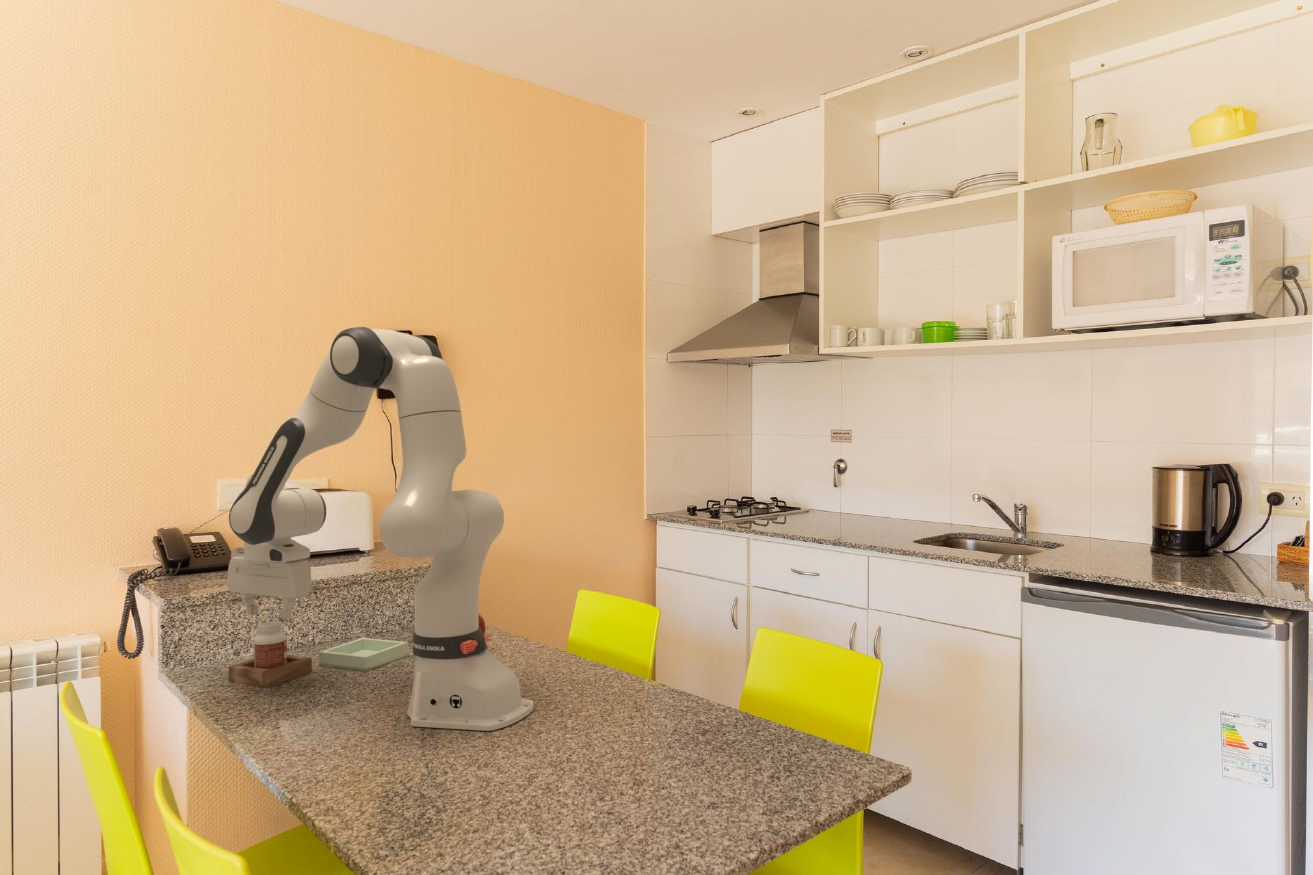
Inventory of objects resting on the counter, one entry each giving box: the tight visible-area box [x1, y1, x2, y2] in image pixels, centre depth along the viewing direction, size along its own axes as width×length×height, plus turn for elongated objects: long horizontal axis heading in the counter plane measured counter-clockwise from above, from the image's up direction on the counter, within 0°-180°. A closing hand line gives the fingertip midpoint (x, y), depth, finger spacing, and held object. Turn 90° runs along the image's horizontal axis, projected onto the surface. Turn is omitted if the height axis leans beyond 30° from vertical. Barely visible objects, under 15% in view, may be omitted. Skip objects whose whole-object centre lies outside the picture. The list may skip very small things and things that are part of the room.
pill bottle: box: [253, 620, 288, 669], centre depth 167 cm, size 6×6×11 cm
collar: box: [228, 654, 313, 688], centre depth 167 cm, size 11×11×3 cm
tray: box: [318, 637, 409, 672], centre depth 178 cm, size 13×13×3 cm
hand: (268, 616), depth 168 cm, fingers open, 8 cm apart
